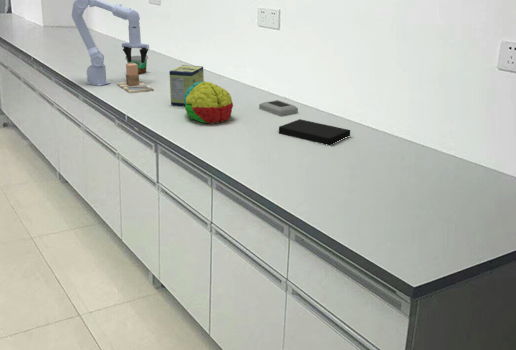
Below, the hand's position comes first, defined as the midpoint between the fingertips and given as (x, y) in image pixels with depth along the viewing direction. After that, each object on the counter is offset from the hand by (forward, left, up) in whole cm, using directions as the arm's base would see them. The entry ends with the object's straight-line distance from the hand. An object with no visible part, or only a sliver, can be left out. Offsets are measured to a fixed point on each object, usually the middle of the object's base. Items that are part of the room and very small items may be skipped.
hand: (136, 62), depth 308 cm
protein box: (+48, -17, -11) cm, 52 cm away
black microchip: (+119, -28, -11) cm, 123 cm away
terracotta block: (+4, -8, -4) cm, 10 cm away
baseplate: (+8, -10, -10) cm, 16 cm away
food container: (-15, +16, -11) cm, 25 cm away
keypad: (+89, -6, -11) cm, 90 cm away
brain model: (+71, -32, -11) cm, 78 cm away
